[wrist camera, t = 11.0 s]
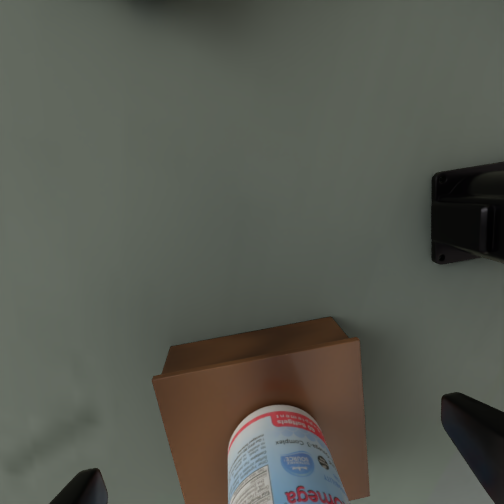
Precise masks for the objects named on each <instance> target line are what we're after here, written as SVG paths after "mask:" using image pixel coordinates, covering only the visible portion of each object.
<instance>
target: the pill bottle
mask: <svg viewBox="0 0 504 504" xmlns="http://www.w3.org/2000/svg"><path fill="white" fill-rule="evenodd" d="M228 504H350V503H349V500H348V497H347V495H346V492H345V490H344V487H343V485H342V482H341V480H340V477H339V475H338V472H337V469H336V467H335V464H334V462H333V459H332V457H331V454H330V451H329V449H328V446H327V444H326V441H325V439H324V436H323V434H322V431H321V429H320V427H319V425H318V424H317V422H316V421H315V420H314V419H313V418H312V417H311V416H310V415H309V414H308V413H306V412H305V411H303V410H301V409H299V408H296V407H293V406H289V405H271V406H266V407H263V408H260V409H258V410H256V411H254V412H253V413H251V414H250V415H248V416H247V417H246V418H245V419H244V420H243V421H242V422H241V423H240V424H239V425H238V427H237V428H236V430H235V431H234V433H233V435H232V437H231V439H230V442H229V447H228Z"/></svg>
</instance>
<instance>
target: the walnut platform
mask: <svg viewBox="0 0 504 504" xmlns="http://www.w3.org/2000/svg"><path fill="white" fill-rule="evenodd" d="M152 383H153V386H154V390H155V394H156V397H157V401H158V405H159V408H160V412H161V416H162V419H163V423H164V427H165V430H166V434H167V438H168V441H169V445H170V449H171V452H172V456H173V460H174V463H175V467H176V471H177V474H178V478H179V482H180V486H181V489H182V493H183V497H184V500H185V504H228V447H229V442H230V439H231V437H232V435H233V433H234V431H235V430H236V428H237V427H238V425H239V424H240V423H241V422H242V421H243V420H244V419H245V418H246V417H247V416H248V415H250V414H251V413H253V412H254V411H256V410H258V409H260V408H263V407H266V406H271V405H289V406H293V407H296V408H299V409H301V410H303V411H305V412H306V413H308V414H309V415H310V416H311V417H312V418H313V419H314V420H315V421H316V422H317V424H318V425H319V427H320V429H321V431H322V434H323V436H324V439H325V441H326V444H327V446H328V449H329V451H330V454H331V457H332V459H333V462H334V464H335V467H336V469H337V472H338V475H339V477H340V480H341V482H342V485H343V487H344V490H345V492H346V495H347V497H348V500H349V501H351V500H355V499H359V498H364V497H368V496H370V491H369V475H368V460H367V445H366V429H365V414H364V399H363V383H362V368H361V353H360V340H359V339H358V338H357V337H354V338H349V337H348V336H347V335H346V334H345V333H344V331H343V330H342V329H341V328H340V327H339V325H338V324H337V323H336V322H335V321H334V319H333V318H332V317H326V318H321V319H315V320H310V321H305V322H299V323H294V324H289V325H283V326H278V327H273V328H267V329H262V330H257V331H251V332H246V333H241V334H235V335H230V336H225V337H219V338H214V339H209V340H203V341H198V342H193V343H187V344H182V345H177V346H171V347H170V350H169V353H168V356H167V359H166V362H165V365H164V368H163V371H162V374H161V375H157V376H153V379H152Z"/></svg>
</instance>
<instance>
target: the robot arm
mask: <svg viewBox="0 0 504 504" xmlns="http://www.w3.org/2000/svg"><path fill="white" fill-rule="evenodd" d="M440 177H442V181H441V182H440ZM431 239H432V261H433V262H435V263H437V264H447V263H453V262H458V261H464V260H469V259H475V258H481V257H483V258H486V259H490V260H494V261H497V262H501V263H504V162H499V163H493V164H486V165H480V166H474V167H467V168H461V169H455V170H448V171H442V172H437V173H436V174H434V176H433V177H432V206H431ZM440 255H441V258H440V259H439V256H440ZM441 421H442V425H443V427H444V429H445V431H446V432H447V434H448V435H449V437H450V438H451V440H452V441H453V443H454V444H455V446H456V447H457V449H458V450H459V452H460V453H461V455H462V456H463V458H464V459H465V461H466V462H467V464H468V465H469V467H470V468H471V470H472V471H473V473H474V474H475V476H476V477H477V479H478V480H479V482H480V483H481V485H482V486H483V487H484V489H485V490H486V492H487V493H488V495H489V496H490V497H491V499H492V500H493V501H494V503H495V504H504V412H502V411H500V410H498V409H496V408H493V407H491V406H489V405H487V404H484V403H482V402H480V401H478V400H475V399H473V398H471V397H469V396H466V395H464V394H462V393H459V392H454V393H449V394H445V395H443V396H442V399H441ZM107 503H108V492H107V489H106V486H105V483H104V480H103V478H102V475H101V472H100V470H99V469H98V468H93V469H88V470H83V471H81V472H79V473H78V474H77V475H76V476H75V477H74V478H73V479H72V480H71V481H70V482H69V483H68V484H67V485H66V486H65V487H64V488H63V490H62V491H61V492H60V493H59V494H58V495H57V496H56V497H55V498H54V499H53V500H52V501H51V502H50V503H49V504H107Z"/></svg>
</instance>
